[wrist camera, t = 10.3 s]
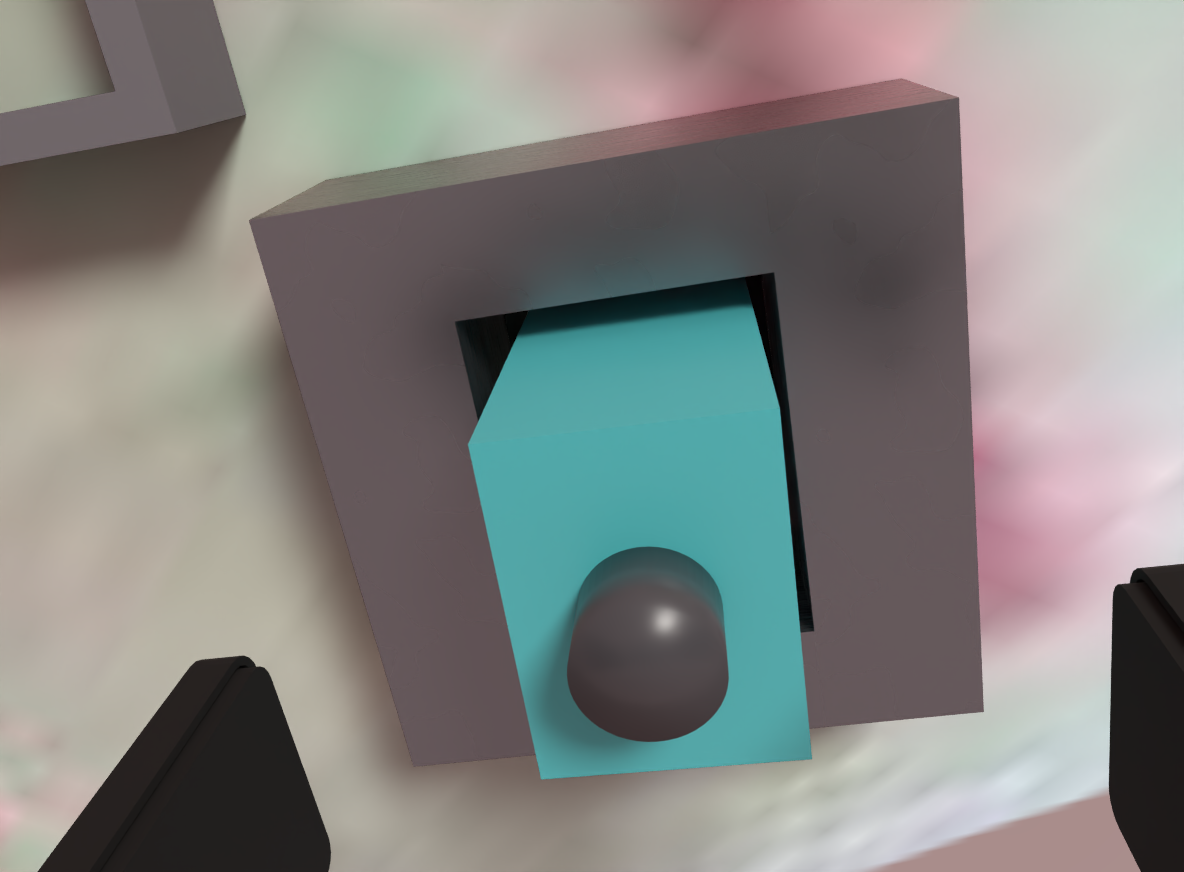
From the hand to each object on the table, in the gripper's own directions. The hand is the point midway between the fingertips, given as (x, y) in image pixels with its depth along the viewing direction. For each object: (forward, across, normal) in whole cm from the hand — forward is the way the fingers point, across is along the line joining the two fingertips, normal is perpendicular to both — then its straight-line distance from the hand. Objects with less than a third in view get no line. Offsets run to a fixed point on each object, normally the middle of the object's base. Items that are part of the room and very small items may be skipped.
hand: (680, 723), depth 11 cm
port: (+11, +1, 0) cm, 11 cm away
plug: (+11, +1, 0) cm, 11 cm away
